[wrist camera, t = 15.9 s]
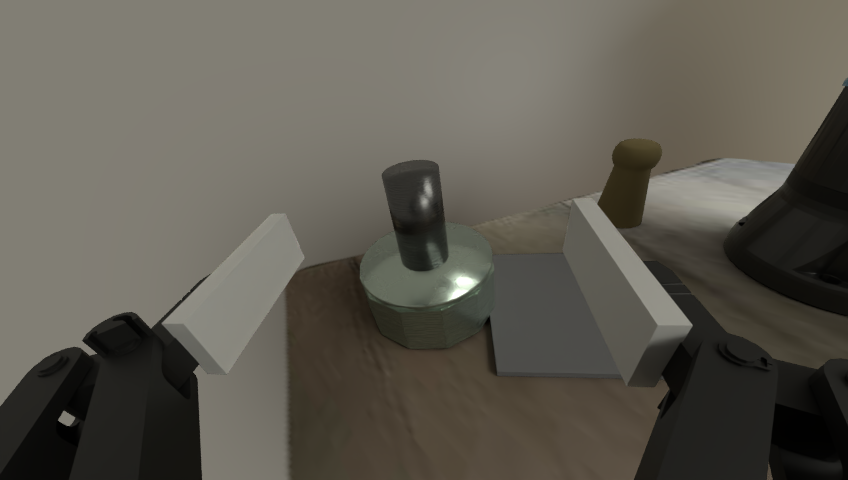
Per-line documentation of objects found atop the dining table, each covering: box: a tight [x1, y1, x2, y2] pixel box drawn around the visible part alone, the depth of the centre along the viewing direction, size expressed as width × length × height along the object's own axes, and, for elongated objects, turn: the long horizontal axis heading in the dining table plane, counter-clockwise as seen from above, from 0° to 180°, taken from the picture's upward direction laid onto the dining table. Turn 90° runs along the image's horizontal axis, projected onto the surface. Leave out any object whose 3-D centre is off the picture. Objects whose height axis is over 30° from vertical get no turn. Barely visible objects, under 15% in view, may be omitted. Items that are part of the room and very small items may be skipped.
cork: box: [597, 139, 662, 228], centre depth 40 cm, size 6×6×11 cm
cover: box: [360, 160, 495, 349], centre depth 29 cm, size 13×13×15 cm
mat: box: [489, 253, 664, 379], centre depth 31 cm, size 16×16×1 cm
